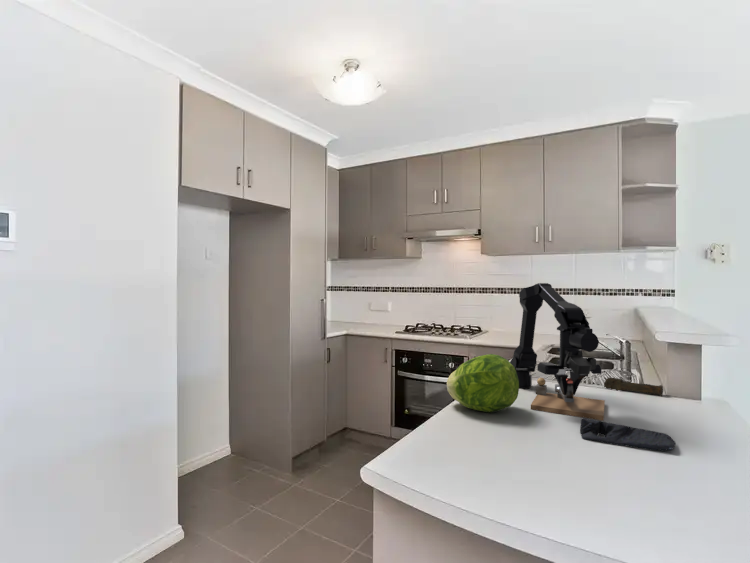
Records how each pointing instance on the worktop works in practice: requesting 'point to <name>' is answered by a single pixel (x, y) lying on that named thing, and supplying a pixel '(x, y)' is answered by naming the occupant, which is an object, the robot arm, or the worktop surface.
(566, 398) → the lever
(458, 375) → the lettuce
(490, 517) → the worktop surface
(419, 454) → the worktop surface
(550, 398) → the tan wooden panel
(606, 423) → the dark slate chunk
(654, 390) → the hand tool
